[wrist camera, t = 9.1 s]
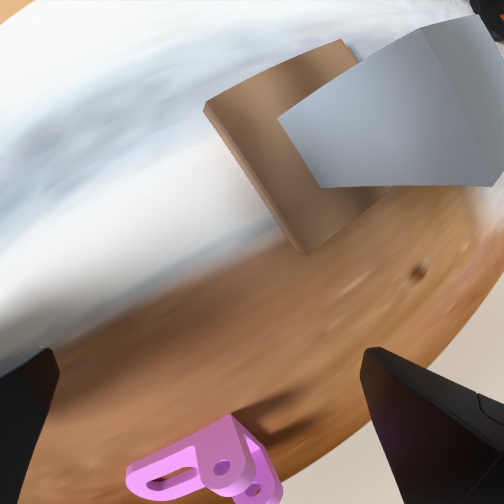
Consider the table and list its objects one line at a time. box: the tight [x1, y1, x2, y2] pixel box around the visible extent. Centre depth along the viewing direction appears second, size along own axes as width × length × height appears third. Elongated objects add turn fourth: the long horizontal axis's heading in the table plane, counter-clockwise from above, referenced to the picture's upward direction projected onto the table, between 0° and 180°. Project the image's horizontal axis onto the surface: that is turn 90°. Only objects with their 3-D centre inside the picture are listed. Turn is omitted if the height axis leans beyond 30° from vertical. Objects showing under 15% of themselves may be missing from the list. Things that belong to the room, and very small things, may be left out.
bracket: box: [126, 413, 283, 504], centre depth 19 cm, size 13×6×7 cm, turn 121°
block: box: [277, 14, 504, 188], centre depth 12 cm, size 5×5×12 cm
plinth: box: [203, 39, 394, 256], centre depth 19 cm, size 11×11×2 cm
